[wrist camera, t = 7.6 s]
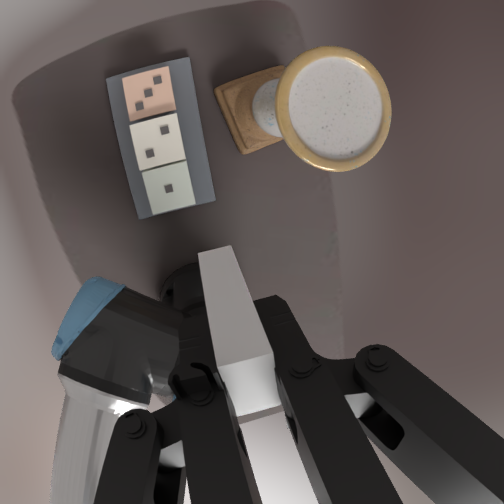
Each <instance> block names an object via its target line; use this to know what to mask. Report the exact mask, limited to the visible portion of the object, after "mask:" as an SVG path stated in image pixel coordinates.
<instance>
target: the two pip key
mask: <svg viewBox="0 0 504 504" xmlns="http://www.w3.org/2000/svg"><path fill="white" fill-rule="evenodd" d="M129 126H130V131H131V136H132V140H133V145H134V149H135V153H136V157H137V162H138V166H139V170H140V171H141V170H144V169H148V168H151V167H155V166H159V165H163V164H167V163H171V162H175V161H179V160H183V159H186V157H185V151H184V146H183V141H182V136H181V131H180V126H179V121H178V116H177V113H175V114H170V115H166V116H162V117H158V118H154V119H151V120H147V121H143V122H140V123H136V124H133V125H129Z"/></svg>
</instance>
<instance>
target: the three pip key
mask: <svg viewBox="0 0 504 504" xmlns="http://www.w3.org/2000/svg"><path fill="white" fill-rule="evenodd" d="M122 82H123V87H124V93H125V98H126V104H127V109H128V114H129V119H130V121H136V120H139V119H143V118H147V117H150V116H154V115H158V114H162V113H166V112H170V111H174V110H176V105H175V99H174V94H173V88H172V83H171V77H170V71H169V67H168V66H166V67H162V68H158V69H154V70H150V71H146V72H142V73H139V74H135V75H132V76H128V77H125V78H122Z"/></svg>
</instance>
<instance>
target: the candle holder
mask: <svg viewBox="0 0 504 504" xmlns="http://www.w3.org/2000/svg"><path fill="white" fill-rule="evenodd" d="M214 94H215V97H216V100H217V102H218V104H219V107H220V109H221V111H222V114H223V116H224V118H225V121H226V123H227V125H228V128H229V130H230V132H231V135H232V137H233V140H234V142H235V144H236V146H237V148H238V150H239V152H240V153H241V154H247V153H250V152H253V151H256V150H258V149H261V148H263V147H265V146H268V145H270V144H273V143H275V142H278V141H280V140H283V139H284V140H285V142H286V144H287V145H288V147H289V148H290V149H291V150H292V151H293V152H294V153H295V154H296V155H297V156H298V157H299V158H300V159H302V160H303V161H305V162H306V163H308V164H310V165H311V166H313V167H316V168H319V169H321V170H326V171H331V172H342V171H349V170H352V169H355V168H358V167H360V166H362V165H364V164H365V163H366V162H368V161H369V160H371V159H372V158H373V157H374V156H375V155H376V154H377V153H378V151H379V150H380V148H381V147H382V145H383V143H384V142H385V140H386V137H387V135H388V132H389V128H390V123H391V102H390V97H389V93H388V90H387V87H386V85H385V83H384V81H383V79H382V77H381V75H380V74H379V72H378V71H377V70H376V69H375V67H373V65H372V64H371V63H370V62H369V61H368V60H366V59H365V58H364V57H362V56H361V55H359V54H358V53H356V52H354V51H352V50H349V49H347V48H342V47H338V46H322V47H316V48H313V49H310V50H307V51H305V52H303V53H302V54H300V55H298V56H297V57H296V58H294V59H293V60H292V61H291V62H290V63H289V64H288V65H287V67H286V68H285V67H284V66H283V65H280V66H276V67H272V68H268V69H265V70H262V71H259V72H256V73H253V74H250V75H247V76H244V77H241V78H238V79H236V80H233V81H230V82H227V83H225V84H223V85H220V86H218V87H216V88H215V89H214Z"/></svg>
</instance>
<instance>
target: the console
mask: <svg viewBox="0 0 504 504" xmlns="http://www.w3.org/2000/svg"><path fill="white" fill-rule="evenodd" d="M166 66H168V67H169V71H170V77H171V83H172V88H173V94H174V99H175V105H176V110H174V111H170V112H166V113H162V114H158V115H154V116H150V117H147V118H143V119H139V120H136V121H130V119H129V114H128V109H127V104H126V98H125V93H124V87H123V82H122V78H125V77H128V76H132V75H135V74H139V73H142V72H146V71H150V70H154V69H158V68H162V67H166ZM106 82H107V88H108V93H109V99H110V104H111V109H112V114H113V119H114V124H115V129H116V133H117V138H118V142H119V147H120V151H121V155H122V159H123V163H124V167H125V171H126V175H127V179H128V182H129V186H130V190H131V193H132V197H133V200H134V204H135V207H136V211H137V214H138V217H139V220H141V219H144V218H148V217H152V216H156V215H159V214H163V213H167V212H171V211H175V210H179V209H183V208H187V207H191V206H196V205H200V204H204V203H208V202H213V201H216V198H215V193H214V188H213V183H212V178H211V173H210V168H209V163H208V158H207V152H206V147H205V142H204V137H203V131H202V126H201V120H200V115H199V109H198V104H197V98H196V93H195V87H194V81H193V75H192V70H191V64H190V58H189V57H186V58H181V59H176V60H172V61H167V62H163V63H158V64H154V65H150V66H147V67H143V68H139V69H136V70H132V71H129V72H125V73H122V74H119V75H116V76H113V77H109V78H106ZM175 113H177V116H178V121H179V126H180V131H181V136H182V141H183V146H184V151H185V157H186V160H187V165H188V170H189V174H190V179H191V184H192V188H193V193H194V197H195V203H196V204H194V205H190V206H186V207H182V208H178V209H174V210H170V211H166V212H162V213H158V214H155V215H153V213H152V209H151V206H150V202H149V199H148V195H147V191H146V187H145V184H144V180H143V176H142V172H143V170H141V171H140V170H139V166H138V162H137V157H136V153H135V149H134V145H133V140H132V136H131V131H130V126H129V125H133V124H136V123H140V122H143V121H147V120H151V119H154V118H158V117H162V116H166V115H170V114H175Z"/></svg>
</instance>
